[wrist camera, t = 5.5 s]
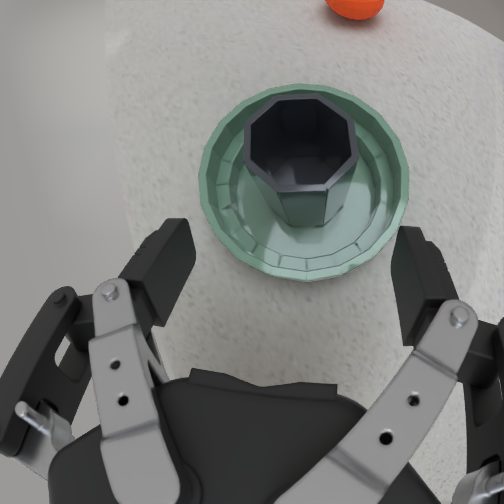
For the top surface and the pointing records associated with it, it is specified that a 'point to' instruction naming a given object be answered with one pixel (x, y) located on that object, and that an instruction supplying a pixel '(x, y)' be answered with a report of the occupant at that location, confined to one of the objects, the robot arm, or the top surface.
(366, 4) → the clementine
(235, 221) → the bowl
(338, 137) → the cup
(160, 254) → the robot arm
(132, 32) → the top surface
